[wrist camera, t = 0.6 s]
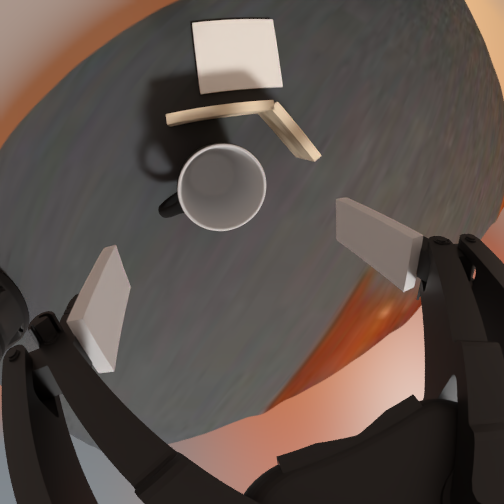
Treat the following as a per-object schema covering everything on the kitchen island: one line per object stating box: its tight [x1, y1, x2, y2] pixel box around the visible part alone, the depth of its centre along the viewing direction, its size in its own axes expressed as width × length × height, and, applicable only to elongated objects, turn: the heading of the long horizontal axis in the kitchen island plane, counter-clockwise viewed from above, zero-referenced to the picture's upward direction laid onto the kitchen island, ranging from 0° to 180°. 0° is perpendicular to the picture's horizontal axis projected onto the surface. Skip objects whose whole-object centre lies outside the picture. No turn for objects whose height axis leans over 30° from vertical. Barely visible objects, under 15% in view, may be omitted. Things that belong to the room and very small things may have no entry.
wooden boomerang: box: [166, 100, 321, 162], centre depth 31 cm, size 18×8×6 cm, turn 97°
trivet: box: [192, 19, 283, 95], centre depth 28 cm, size 11×11×1 cm
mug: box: [158, 143, 266, 231], centre depth 30 cm, size 12×9×10 cm
